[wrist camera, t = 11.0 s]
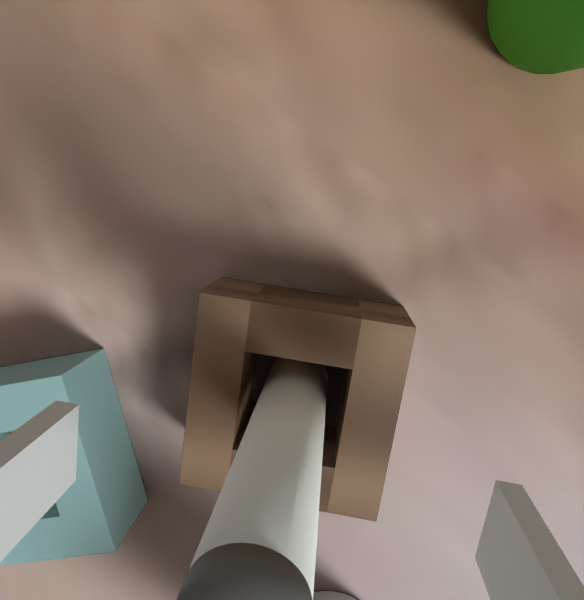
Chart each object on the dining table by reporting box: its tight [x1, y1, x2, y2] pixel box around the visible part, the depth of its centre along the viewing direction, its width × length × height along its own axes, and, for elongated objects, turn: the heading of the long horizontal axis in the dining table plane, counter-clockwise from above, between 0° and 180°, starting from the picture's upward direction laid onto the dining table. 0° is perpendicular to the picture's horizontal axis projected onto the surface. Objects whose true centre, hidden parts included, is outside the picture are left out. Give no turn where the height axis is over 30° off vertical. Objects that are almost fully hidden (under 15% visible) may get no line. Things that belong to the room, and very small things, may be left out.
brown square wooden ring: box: [179, 278, 416, 521], centre depth 23 cm, size 9×9×4 cm
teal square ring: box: [0, 348, 148, 566], centre depth 25 cm, size 9×9×4 cm
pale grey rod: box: [177, 357, 328, 600], centre depth 17 cm, size 3×3×15 cm
